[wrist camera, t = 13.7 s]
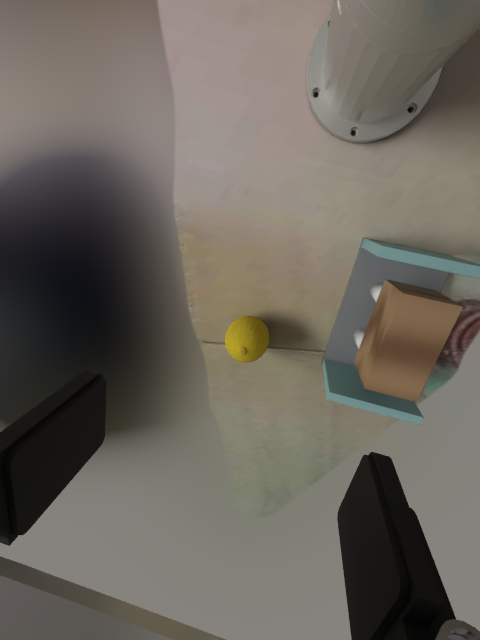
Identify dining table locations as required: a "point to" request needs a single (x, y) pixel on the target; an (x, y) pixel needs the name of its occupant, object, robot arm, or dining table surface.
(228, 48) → the dining table surface
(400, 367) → the brown wooden block
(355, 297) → the peg frame
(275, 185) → the dining table surface
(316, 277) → the dining table surface
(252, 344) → the lemon
